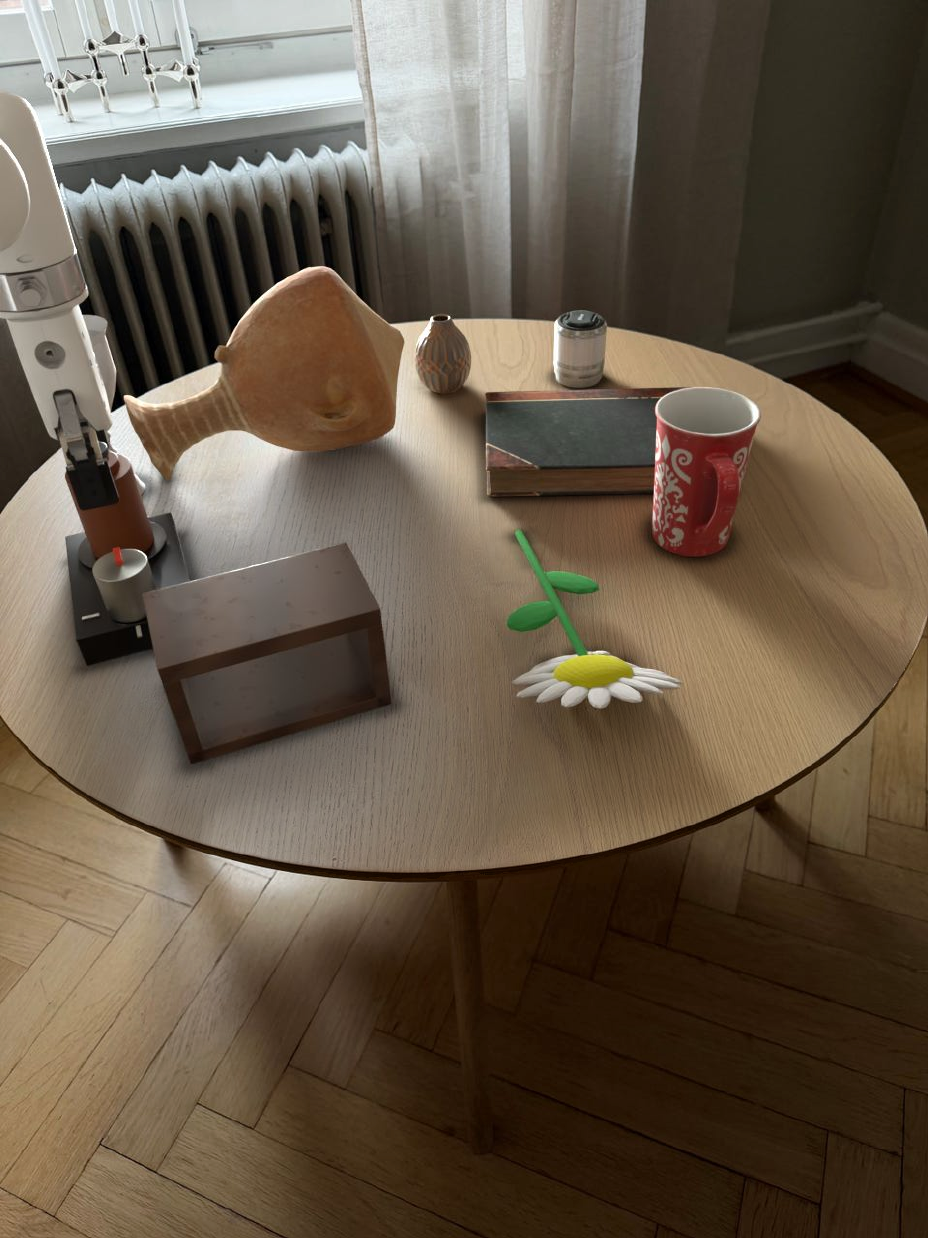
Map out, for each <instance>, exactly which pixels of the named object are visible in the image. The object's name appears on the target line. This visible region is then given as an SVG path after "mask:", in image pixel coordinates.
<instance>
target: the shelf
mask: <svg viewBox="0 0 928 1238" xmlns="http://www.w3.org/2000/svg"><path fill="white" fill-rule="evenodd" d="M142 596H143V601H144V606H145V611H146V616H147V621H148V626H149V631H150V636H151V641H152V646H153V648H152V650H153V655H154V660H155V665H156V671H157V673H158V676H159V679H160V681H161V684H162V687H163V691H164V693H165V695H166V699H167V701H168V703H169V704H168V706H169V708H170V710H171V713H172V716H173V719H174V723H175V725H176V728H177V730H178V733H179V736H180V739H181V742H182V745H183V747H184V751H185V753H186V756H187V759H188V761H189V764H190V765H194V764H197V763H201V762H204V761H208V760H210V759H214V758H217V757H221V756H224V755H228V754H230V753H234V752H237V751H241V750H243V749H247V748H251V747H254V746H257V745H260V744H264V743H268V742H271V741H273V740H277V739H280V738H284V737H287V736H290V735H293V734H297V733H300V732H304V731H307V730H310V729H314V728H317V727H320V726H323V725H327V724H331V723H333V722H336V721H340V720H343V719H347V718H350V717H353V716H357V715H361V714H364V713H367V712H370V711H373V710H377V709H380V708H384V707H388V706H390V705H392V704H393V700H392V691H391V682H390V676H389V667H388V659H387V651H386V642H385V634H384V625H383V618H382V617H383V616H382V611H381V607H380V605H379V603H378V601H377V599H376V597H375V595H374V593H373V591H372V589H371V587H370V586H369V584H368V582H367V579H366V578H365V575H364V574H363V572H362V570H361V567H360V566H359V564H358V562H357V560H356V558H355V556H354V554H353V552H352V550H351V547H350V546H349V544H348V542H343V543H338V544H334V545H331V546H326V547H322V548H319V549H314V550H310V551H305V552H302V553H299V554H298V553H297V554H294V555H291V556H287V557H283V558H278V559H274V560H270V561H267V562H262V563H259V564H253V565H250V566H246V567H241V568H238V569H235V570H231V571H226V572H222V573H218V574H215V575H211V576H207V577H203V578H198V579H195V580H190V582H186V583H182V584H178V585H174V586H170V587H166V588H162V589H158V590H154V591H150V592H146V593H143V594H142Z"/></svg>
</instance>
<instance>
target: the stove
mask: <svg viewBox="0 0 928 1238" xmlns="http://www.w3.org/2000/svg"><path fill="white" fill-rule="evenodd" d="M148 519H149V521H152V522H154V523H157V524H158V525H160V526H161V527H162V528H163V529H164V530H165V533H166V536H167V542H166V545H165V547H164V549H163V550H162V552H161V553H160V554H159V555H158V556H157V557H155V558H154V559H153V560H151V561H150V562H148V563H149V566H150V569H151V572H152V575H153V578H154V581H155V585H156V588H157V590H158V589H162V588H166V587H170V586H174V585H178V584H182V583H186V582H190V581H191V577H190V574H189V569H188V565H187V563H186V562H187V561H186V558H185V555H184V552H183V551H184V550H183V547H182V544H181V539H180V536H179V533H178V529H177V526H176V523H175V520H174V516H173V513H172V512H171V511H170V512H166V513H161V514H156V515H153V516H149V517H148ZM86 537H87V536H86V534H85V531H82V532H78V533H74V534H70V535H66V536H64V539H65V549H66V558H67V566H68V578H69V585H70V595H71V604H72V605H71V606H72V613H73V614H72V615H73V624H74V632H75V640H76V643H77V646H78V648H79V651H80V653H81V655H82V657H83V661H84V663H85V664H86V666H87V667H88V666H92V665H96V664H100V663H103V662H108V661H111V660H114V659H118V658H121V657H125V656H130V655H133V654H137V653H140V652H145V651H148V650H151V649H152V650H153V646H152V641H151V636H150V631H149V626H148V621H147V618H145V619H142V620H140V621H136V622H129V623H123V622H118V621H115V620H113V619H112V618H111V617H110V616H109V615H108V612H107V609H106V607H105V604H104V601H103V599H102V596H101V593H100V591H99V588H98V586H97V583H96V580H95V578H94V575H93V571H92V570H90V569H88V568H86V567H85V566H84V565H83V564H82V563H81V562H80V560H79V557H78V548H79V546H80V544H81V542H82V541H83V540H84V539H85V538H86Z"/></svg>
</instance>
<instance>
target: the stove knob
mask: <svg viewBox="0 0 928 1238" xmlns="http://www.w3.org/2000/svg"><path fill="white" fill-rule="evenodd" d="M92 571H93V575H94V578H95V580H96V583H97V586H98V588H99V591H100V593H101V596H102V599H103V601H104V604H105V607H106V609H107V612H108V615H109V616H110V617H111V618H112V619H113V620H115V621H118V622H123V623H129V622H136V621H140V620H142V619H145V618H147V616H146V611H145V606H144V601H143V596H142V594H143V593H146V592H150V591H154V590H157V588H156V585H155V581H154V578H153V575H152V572H151V569H150V566H149V563H148V560H147V557H146V555H145V554H144V553H142V552H141V551H138V550H134V549H122V550H120V547H117V548H113V552H110V553H108V554H106V555H104V556H102V557H101V558H100V559H98V560H97V561H96V563H95V564H94V566H93V570H92Z"/></svg>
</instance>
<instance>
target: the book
mask: <svg viewBox="0 0 928 1238" xmlns="http://www.w3.org/2000/svg"><path fill="white" fill-rule="evenodd" d="M695 387H696V386H676V387H675V386H674V387H671V386H670V387H638V388H635V387H633V388H603V389H602V388H601V389H600V388H599V389H598V388H597V389H559V390H556V389H555V390H522V391H521V390H517V391H513V390H512V391H510V390H509V391H486V392H485V394H484V395H485V471H486V494H487V497H490V498H493V497H495V498H497V497H535V496H536V497H539V496H540V497H541V496H592V495H593V496H594V495H595V496H598V495H599V496H602V495H603V496H604V495H605V496H606V495H609V496H610V495H643V494H644V495H647V494H649V495H652V494H653V495H654V478H655V456H656V433H657V416H656V413H655V407H656V404H657V403H658V401H659V400H660V399H661V398H662V397H663V396H665V395H667V394H669V393H671V392H674V391H677V390H681V389H686V388H695Z"/></svg>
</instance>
